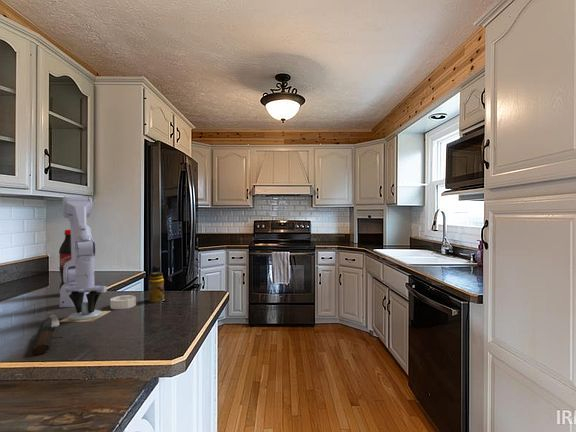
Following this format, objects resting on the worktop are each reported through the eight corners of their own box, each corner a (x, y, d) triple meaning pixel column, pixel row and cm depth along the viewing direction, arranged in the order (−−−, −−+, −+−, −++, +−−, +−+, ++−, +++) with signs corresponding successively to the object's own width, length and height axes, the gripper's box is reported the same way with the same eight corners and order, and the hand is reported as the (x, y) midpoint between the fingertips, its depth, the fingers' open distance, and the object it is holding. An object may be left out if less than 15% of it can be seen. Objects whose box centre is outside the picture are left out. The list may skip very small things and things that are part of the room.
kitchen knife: (56, 341, 90) (32, 347, 87) (57, 349, 90) (34, 355, 87) (60, 309, 119) (43, 313, 117) (61, 315, 120) (44, 319, 117)
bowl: (105, 310, 128) (105, 301, 128) (118, 303, 137) (118, 295, 137) (129, 310, 128) (128, 300, 128) (139, 303, 137) (139, 295, 137)
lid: (62, 320, 114) (62, 306, 114) (80, 312, 124) (80, 299, 124) (91, 320, 114) (91, 306, 114) (107, 311, 124) (106, 299, 124)
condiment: (166, 301, 139) (166, 273, 139) (145, 305, 135) (144, 275, 135) (162, 298, 146) (162, 270, 145) (141, 301, 141) (141, 272, 141)
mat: (57, 322, 113) (57, 321, 113) (79, 312, 125) (79, 311, 125) (92, 322, 113) (92, 321, 113) (111, 312, 125) (111, 311, 125)
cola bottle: (55, 295, 152) (54, 229, 152) (73, 291, 160) (72, 229, 160) (67, 296, 149) (66, 230, 149) (85, 292, 157) (84, 229, 157)
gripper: (57, 276, 115) (57, 315, 115) (98, 276, 115) (99, 315, 115) (70, 273, 122) (71, 309, 123) (109, 272, 122) (110, 309, 122)
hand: (85, 312), depth 119 cm, fingers open, 4 cm apart
